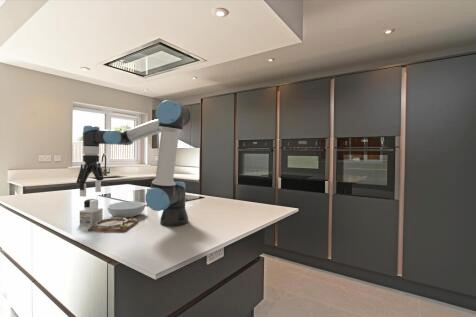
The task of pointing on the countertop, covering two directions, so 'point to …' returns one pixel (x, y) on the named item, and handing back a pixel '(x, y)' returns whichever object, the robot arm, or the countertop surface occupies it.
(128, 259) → the countertop surface
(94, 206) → the container
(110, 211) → the serving bowl
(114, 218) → the gear board
